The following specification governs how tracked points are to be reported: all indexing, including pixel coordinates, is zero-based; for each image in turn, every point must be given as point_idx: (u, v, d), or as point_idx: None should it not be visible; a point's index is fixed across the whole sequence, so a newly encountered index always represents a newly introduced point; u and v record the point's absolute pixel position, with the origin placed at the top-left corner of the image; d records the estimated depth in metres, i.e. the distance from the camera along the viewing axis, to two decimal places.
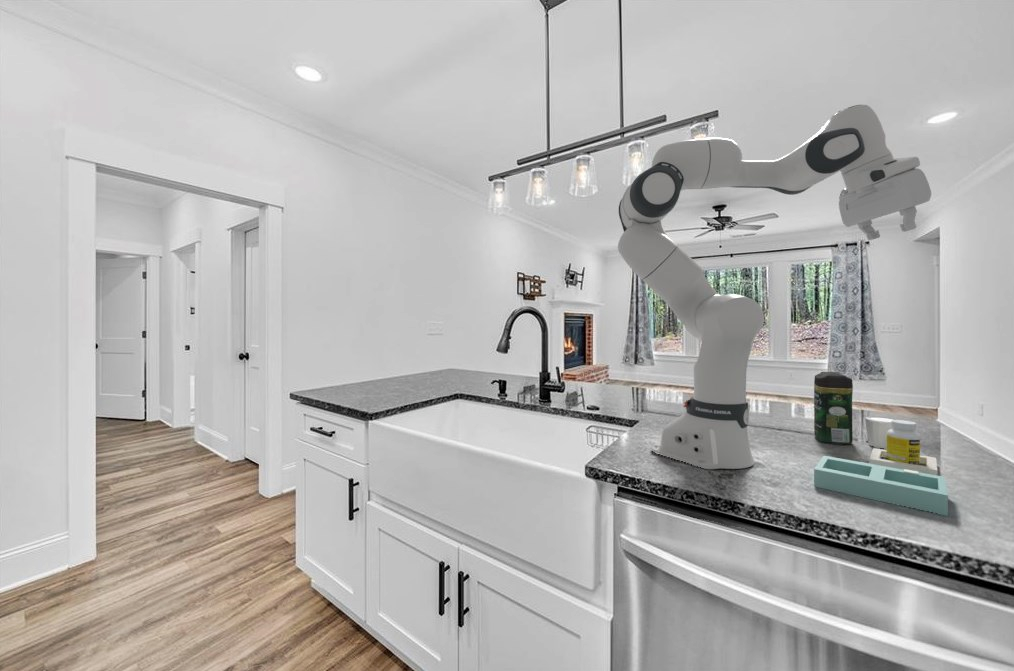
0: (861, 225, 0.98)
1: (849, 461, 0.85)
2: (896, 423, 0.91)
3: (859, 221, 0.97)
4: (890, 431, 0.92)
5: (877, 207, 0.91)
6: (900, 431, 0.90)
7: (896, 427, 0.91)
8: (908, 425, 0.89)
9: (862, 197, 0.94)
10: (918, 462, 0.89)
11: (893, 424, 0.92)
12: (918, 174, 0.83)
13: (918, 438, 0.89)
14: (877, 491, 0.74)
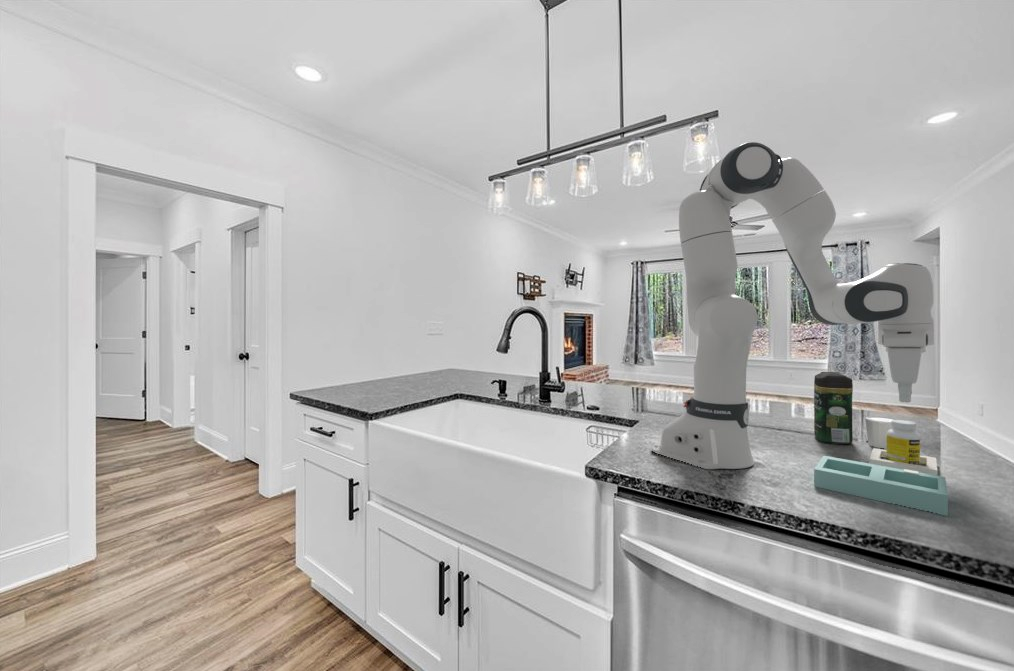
0: None
1: (849, 461, 0.85)
2: (896, 423, 0.91)
3: None
4: (890, 431, 0.92)
5: None
6: (900, 431, 0.90)
7: (896, 427, 0.91)
8: (908, 425, 0.89)
9: None
10: (918, 462, 0.89)
11: (893, 424, 0.92)
12: (912, 355, 0.83)
13: (918, 438, 0.89)
14: (877, 491, 0.74)
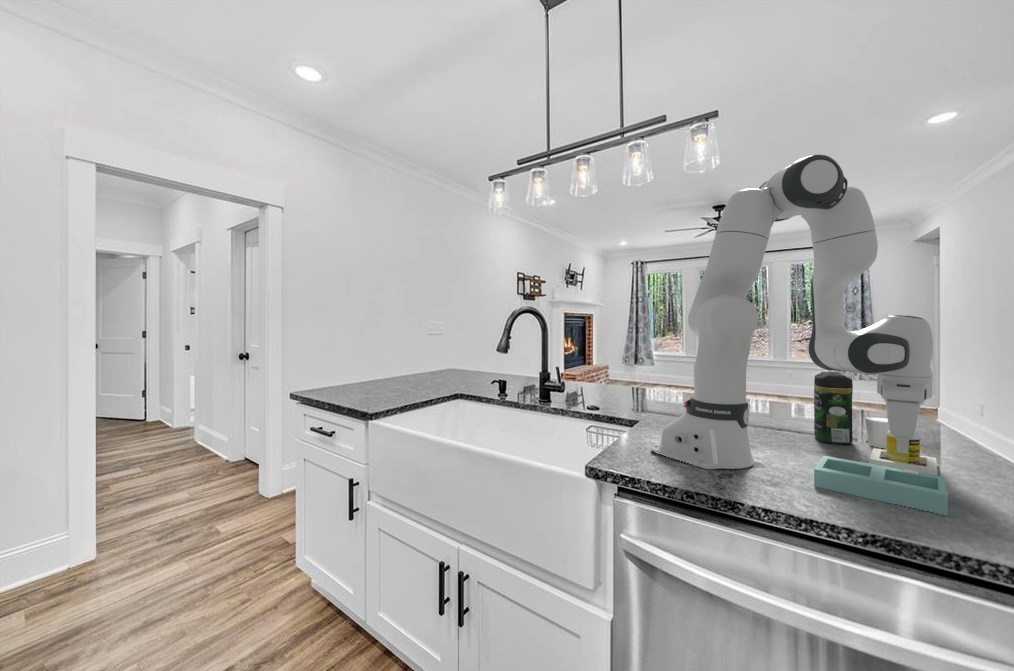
0: None
1: (849, 461, 0.85)
2: None
3: None
4: None
5: None
6: None
7: None
8: None
9: None
10: (918, 462, 0.89)
11: None
12: (910, 410, 0.84)
13: (918, 438, 0.89)
14: (877, 491, 0.74)
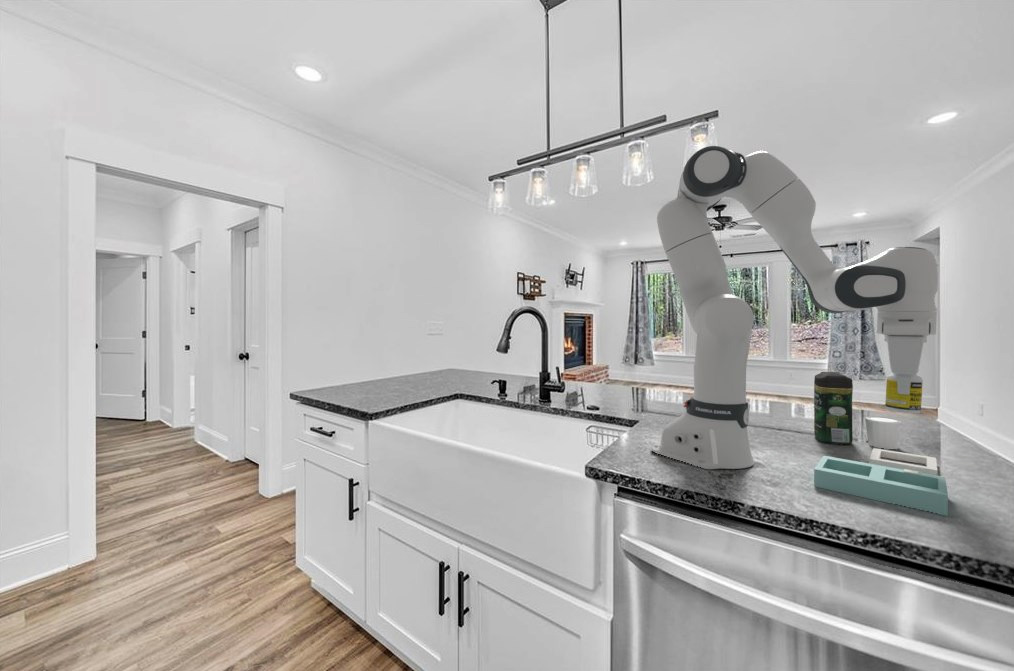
0: None
1: (849, 461, 0.85)
2: None
3: None
4: (890, 375, 0.86)
5: None
6: None
7: None
8: None
9: None
10: (920, 407, 0.83)
11: None
12: (914, 344, 0.77)
13: (920, 381, 0.83)
14: (877, 491, 0.74)
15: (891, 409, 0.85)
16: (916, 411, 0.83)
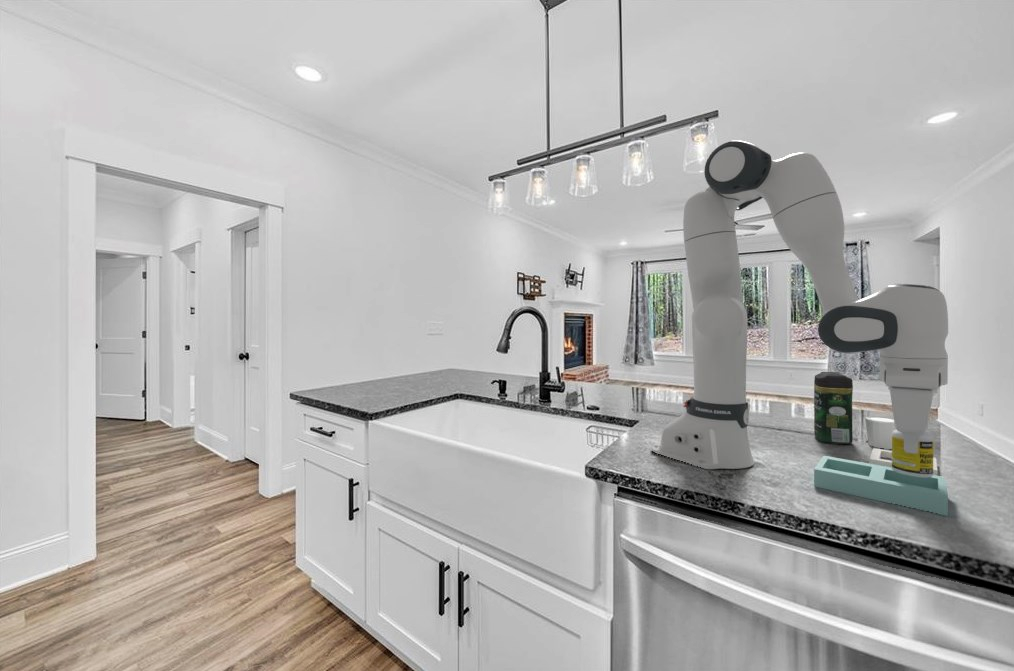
0: None
1: (849, 461, 0.85)
2: None
3: None
4: (896, 431, 0.75)
5: None
6: None
7: None
8: None
9: None
10: (932, 470, 0.72)
11: None
12: (921, 399, 0.67)
13: (931, 440, 0.72)
14: (877, 491, 0.74)
15: (899, 471, 0.74)
16: (928, 475, 0.72)
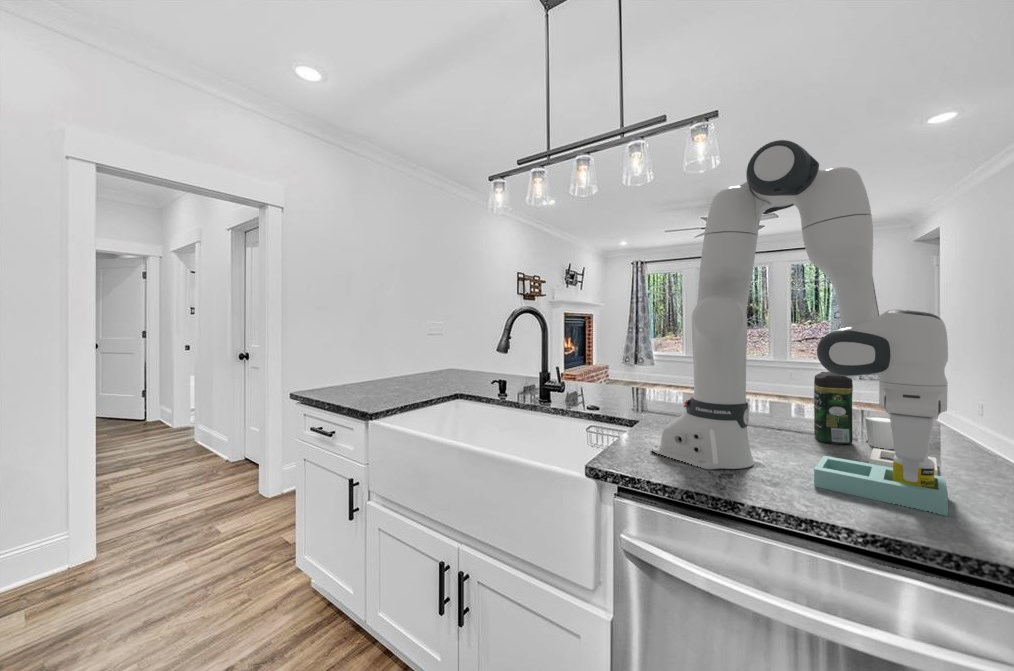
0: None
1: (849, 461, 0.85)
2: None
3: None
4: None
5: None
6: None
7: None
8: None
9: None
10: None
11: None
12: (921, 427, 0.67)
13: (932, 466, 0.72)
14: (877, 491, 0.74)
15: None
16: None
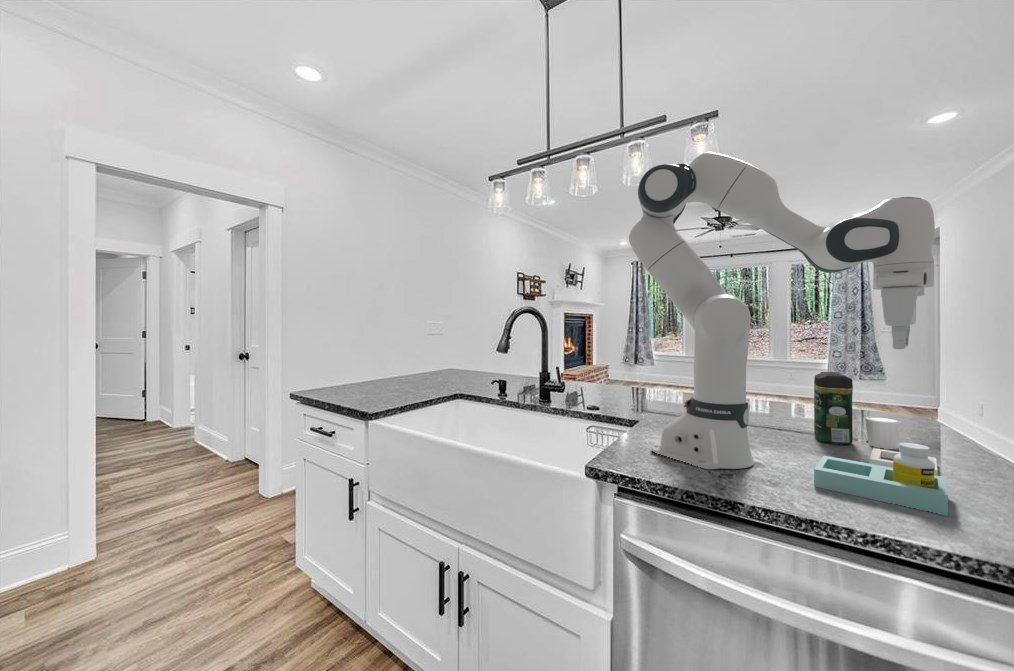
0: None
1: (849, 461, 0.85)
2: (905, 447, 0.74)
3: None
4: (897, 457, 0.75)
5: None
6: (910, 457, 0.74)
7: (905, 453, 0.74)
8: (920, 450, 0.73)
9: None
10: None
11: (901, 448, 0.75)
12: (908, 294, 0.75)
13: (932, 466, 0.72)
14: (877, 491, 0.74)
15: None
16: None
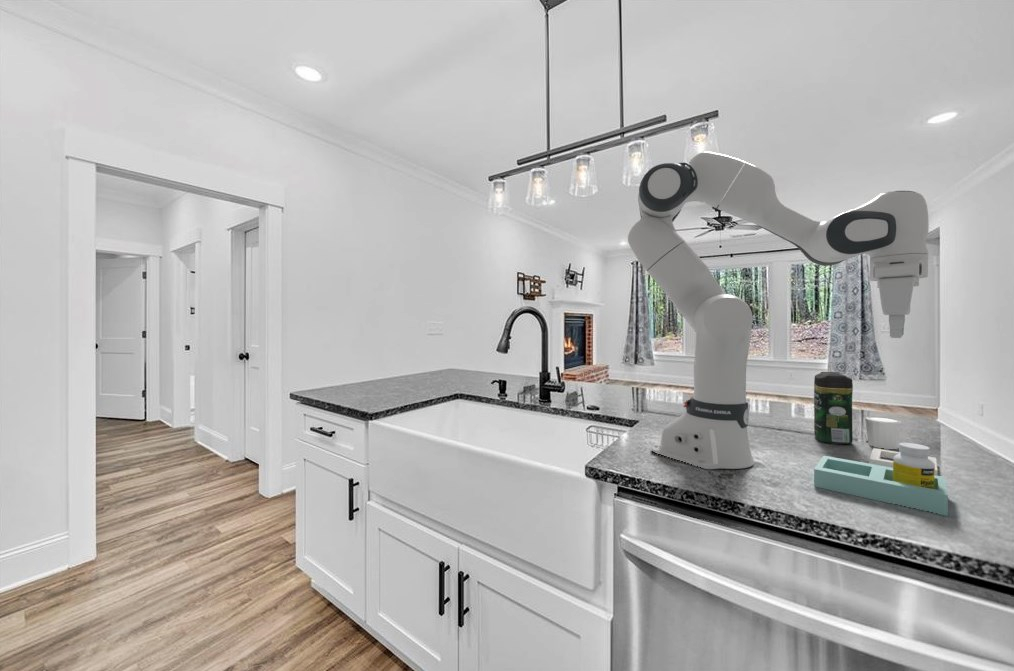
0: None
1: (849, 461, 0.85)
2: (905, 447, 0.74)
3: None
4: (897, 457, 0.75)
5: None
6: (910, 457, 0.74)
7: (905, 453, 0.74)
8: (920, 450, 0.73)
9: None
10: None
11: (901, 448, 0.75)
12: (904, 284, 0.78)
13: (932, 466, 0.72)
14: (877, 491, 0.74)
15: None
16: None
